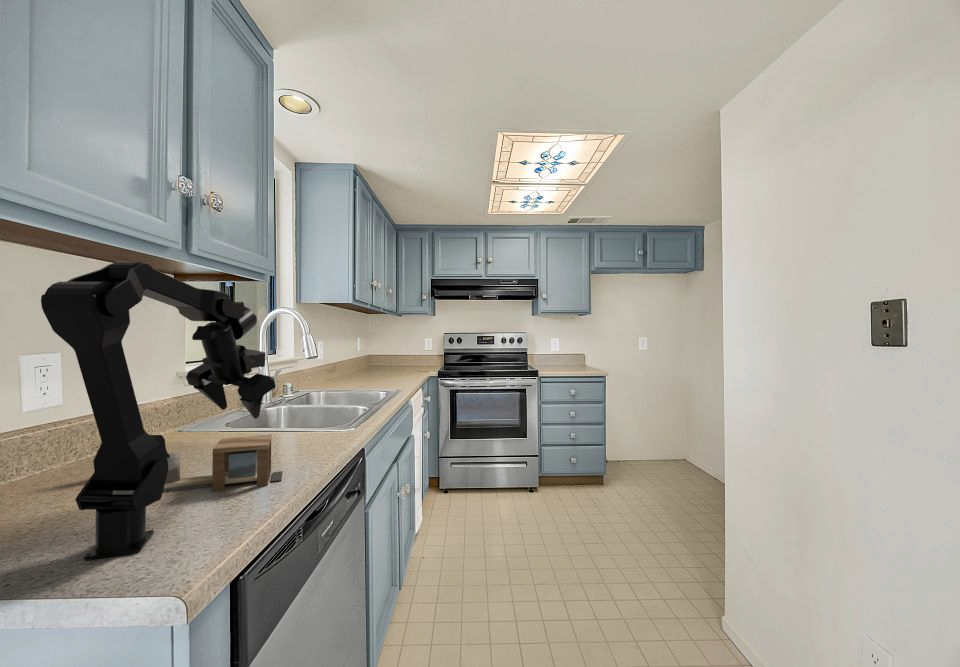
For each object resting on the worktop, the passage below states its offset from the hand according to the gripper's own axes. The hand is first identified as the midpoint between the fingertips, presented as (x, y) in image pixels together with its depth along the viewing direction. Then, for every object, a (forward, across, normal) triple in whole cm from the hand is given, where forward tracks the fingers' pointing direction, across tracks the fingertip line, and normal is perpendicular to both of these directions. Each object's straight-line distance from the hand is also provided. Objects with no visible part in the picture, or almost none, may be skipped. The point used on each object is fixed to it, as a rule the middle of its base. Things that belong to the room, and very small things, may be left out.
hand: (240, 413), depth 94 cm
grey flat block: (+13, -9, +2) cm, 16 cm away
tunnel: (+12, -4, +7) cm, 15 cm away
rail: (+10, +4, +14) cm, 18 cm away
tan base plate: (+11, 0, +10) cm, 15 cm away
